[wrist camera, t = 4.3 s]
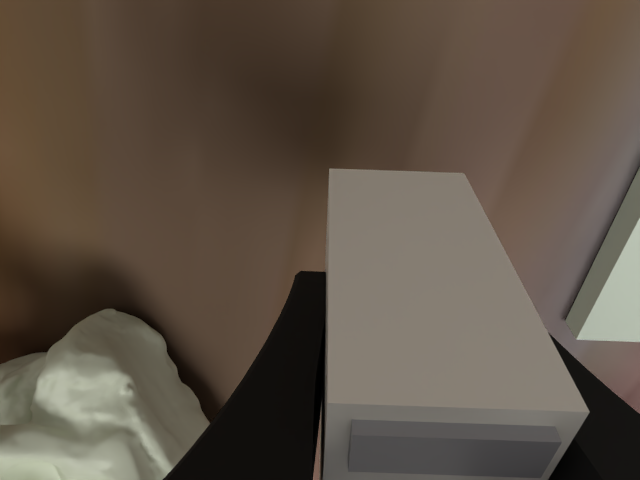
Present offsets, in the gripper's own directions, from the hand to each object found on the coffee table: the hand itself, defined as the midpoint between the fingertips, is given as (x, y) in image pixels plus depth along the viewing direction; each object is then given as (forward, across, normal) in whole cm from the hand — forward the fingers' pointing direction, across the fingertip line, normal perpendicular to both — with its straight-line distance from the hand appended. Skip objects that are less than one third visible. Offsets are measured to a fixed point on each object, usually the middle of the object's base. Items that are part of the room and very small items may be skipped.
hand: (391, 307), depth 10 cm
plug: (+2, 0, 0) cm, 2 cm away
